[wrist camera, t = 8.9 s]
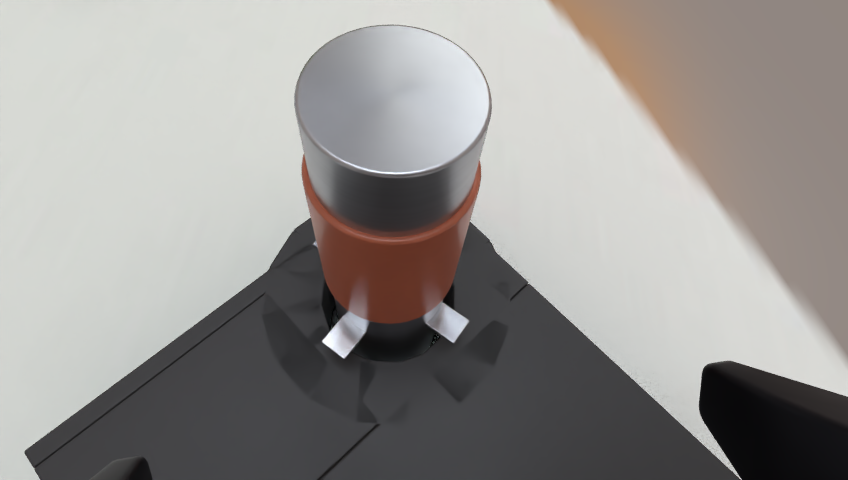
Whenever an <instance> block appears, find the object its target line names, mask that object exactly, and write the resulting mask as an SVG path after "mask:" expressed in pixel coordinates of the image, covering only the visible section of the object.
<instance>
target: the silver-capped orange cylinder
mask: <svg viewBox="0 0 848 480" xmlns="http://www.w3.org/2000/svg"><path fill="white" fill-rule="evenodd" d="M294 105H295V111H296V117H297V122H298V127H299V131H300V136H301V141H302V146H303V150H304V155H303V160H302V180H303V186H304V190H305V194H306V199H307V203H308V207H309V212H310V216H311V220H312V225H313V229H314V234H315V238H316V241H315V242H314V243H313V246H314V248H316V249H317V250H318V251H319V255H320V260H321V264H322V268H323V273H324V277H325V280H326V283H327V285H328V287H329V290H330V292H331V293H332V294H333V296H334V299H335V304H336V309H337V314H338V318H339V321H338V322H337V324H336V325H335V326H334V327H333V328H332V330H331V331H330V332H329V333H328V334H327V335H326V337H325V338H324V339H323V340H322V344H323V345H324V346H325V347H327V348H328V349H329V350H331V351H332V352H333V353H335V354H336V355H337V356H339V357H340V358H341V359H343V360H344V361H345V360H346V359H347V358H348V357H349V355H350V354H351V353H352V352H354V353H356V354H358V355H360V356H363V357H365V358H367V359H369V360H373V361H396V362H400V361H402V360H405V359H408V358H411V357H414V356H416V355H419V354H422V353H424V352H425V351H426V350H427V349H428V348H429V347H430V344H431V342H432V339H433V336H434V332H435V333H436V334H438V335H439V336H440V337H442V338H443V339H445V340H446V341H448V342H449V343H450V344H452V345H454V343H455V342H456V341H457V339H458V338H459V336H460V335H461V334H462V332H463V331H464V329H465V328H466V327H467V325H468V324H469V320H467V319H466V318H465V317H463V316H462V315H460V314H459V313H457V312H456V311H454V310H453V309H452V308H450V307H449V306H447V305H446V304H444V303H443V299H444V297H445V296H446V294H447V293H448V291H449V289H450V287H451V285H452V283H453V279H454V276H455V272H456V269H457V265H458V262H459V258H460V255H461V251H462V248H463V244H464V240H465V237H466V233H467V230H468V226H469V223H470V219H471V216H472V212H473V208H474V205H475V201H476V198H477V194H478V191H479V187H480V181H481V165H480V156H481V152H482V148H483V144H484V140H485V137H486V133H487V129H488V125H489V121H490V117H491V109H492V103H491V94H490V89H489V86H488V83H487V81H486V78H485V76H484V74H483V72H482V70H481V69H480V67H479V66H478V64H477V63H476V62H475V60H474V59H473V58H472V57H471V56H470V55H469V54H468V53H467V52H466V51H464V50H463V49H462V48H461V47H459V46H458V45H457V44H455V43H453V42H452V41H450V40H449V39H447V38H445V37H442V36H440V35H438V34H436V33H433V32H430V31H428V30H424V29H420V28H416V27H410V26H403V25H377V26H369V27H364V28H360V29H356V30H353V31H350V32H347V33H345V34H343V35H340V36H338V37H336V38H334V39H333V40H331V41H329V42H328V43H326V44H325V45H324V46H322V47H321V48H320V49H319V50H318V51H316V52H315V53H314V54H313V55H312V56H311V58H310V59H309V60H308V62H307V63H306V64H305V66H304V68H303V70H302V72H301V73H300V76H299V79H298V81H297V84H296V89H295V95H294Z"/></svg>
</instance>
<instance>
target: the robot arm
mask: <svg viewBox="0 0 848 480" xmlns="http://www.w3.org/2000/svg"><path fill="white" fill-rule="evenodd" d="M699 410H700V414H701V417H702V419H703V421H704V423H705V424H706V426H707V427H708V429H709V430H710V432H711V434H712V435H713V437H714V438H715V440H716V441H717V443H718V444H719V446H720V447H721V449H722V450H723V452H724V453H725V455H726V456H727V458H728V459H729V461H730V462H731V464H732V465H733V467H734V468H735V470H736V472H737V473H738V475H739V476H740V478H741V479H742V480H848V397H846V396H843V395H840V394H836V393H833V392H830V391H827V390H824V389H820V388H817V387H814V386H811V385H807V384H804V383H801V382H798V381H794V380H791V379H788V378H785V377H781V376H778V375H775V374H772V373H768V372H765V371H762V370H759V369H755V368H752V367H749V366H746V365H743V364H739V363H736V362H733V361H723V362H717V363H710V364H708V365H706V366H705V367H704V369H703V372H702V380H701V390H700V400H699ZM90 480H153V478H152V475H151V471H150V468H149V464H148V462H147V460H146V459H145V458H144V457H142V456H136V457H130V458H123V459H117V460H114V461H112V462H111V463H110V464H108V465H107V466H106V467H105V468H103V469H102V470H101V471H100V472H98V473H97V474H96V475H95V476H93V477H92V478H91V479H90Z"/></svg>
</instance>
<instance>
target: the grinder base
mask: <svg viewBox="0 0 848 480" xmlns="http://www.w3.org/2000/svg"><path fill="white" fill-rule="evenodd" d="M315 241H316V238H315V234H314V229H313V225H312V220H311V218H309V219H308V220H307V221H305V222H304V223H303V224H301V225H300V226H298V227H297V228H296V229H295V230H294V231H293V232H292V233H291V235H290V236H289V238H288V239H287V241H286V242H285V244H284V246H283V247H282V249H281V250H280V252H279V253H278V255H277V256H276V258H275V260H274V261H273V263H272V264H271V266H270V269H269V270H268V271H267V272H266V273H265V274H263V275H262V276H261V277H259V278H258V279H256V280H255V281H254V282H252V283H251V284H250V285H248V286H247V287H246V288H244V289H243V290H242V291H240V292H239V293H238V294H236V295H235V296H233V297H232V298H231V299H229V300H228V301H227V302H225V303H224V304H223V305H221V306H220V307H219V308H217V309H216V310H215V311H213V312H212V313H210V314H209V315H208V316H206V317H205V318H204V319H202V320H201V321H200V322H198V323H197V324H196V325H194V326H193V327H192V328H190V329H189V330H187V331H186V332H185V333H183V334H182V335H181V336H179V337H178V338H177V339H175V340H174V341H173V342H171V343H170V344H169V345H167V346H166V347H165V348H163V349H162V350H160V351H159V352H158V353H156V354H155V355H154V356H152V357H151V358H150V359H148V360H147V361H146V362H144V363H143V364H142V365H140V366H139V367H137V368H136V369H135V370H133V371H132V372H131V373H129V374H128V375H127V376H125V377H124V378H123V379H121V380H120V381H119V382H117V383H116V384H114V385H113V386H112V387H110V388H109V389H108V390H106V391H105V392H104V393H102V394H101V395H100V396H98V397H97V398H96V399H94V400H93V401H91V402H90V403H89V404H87V405H86V406H85V407H83V408H82V409H81V410H79V411H78V412H77V413H75V414H74V415H73V416H71V417H70V418H69V419H67V420H66V421H64V422H63V423H62V424H60V425H59V426H58V427H56V428H55V429H54V430H52V431H51V432H50V433H48V434H47V435H46V436H44V437H43V438H41V439H40V440H39V441H37V442H36V443H35V444H33V445H32V446H31V447H29V448H28V449H27V450H25V455H26V456H27V458H28V460H29V461H30V463H31V464H32V466H33V467H34V468H35V471H36V473H37V475H38V476H39V478H40V480H90V479H91V478H92V477H93V476H95V475H96V474H97V473H98V472H100V471H101V470H102V469H103V468H105V467H106V466H107V465H108V464H110V463H111V462H112V461H114V460H117V459H123V458H130V457H136V456H142V457H144V458H145V459H146V460H147V462H148V464H149V468H150V471H151V475H152V478H153V480H740V479H739V478H738V477H737V476H736V475H735V474H734V473H733V472H732V471H731V470H730V469H729V468H728V467H726V466H725V465H724V464H723V463H722V462H721V461H720V460H719V459H718V458H717V457H716V456H715V455H713V454H712V453H711V452H710V451H709V450H708V449H707V448H706V447H705V446H704V445H703V444H702V443H701V442H699V441H698V440H697V439H696V438H695V437H694V436H693V435H692V434H691V433H690V432H689V431H688V430H687V429H685V428H684V427H683V426H682V425H681V424H680V423H679V422H678V421H677V420H676V419H675V418H674V417H672V416H671V415H670V414H669V413H668V412H667V411H666V410H665V409H664V408H663V407H662V406H661V405H660V404H658V403H657V402H656V401H655V400H654V399H653V398H652V397H651V396H650V395H649V394H648V393H647V392H646V391H644V390H643V389H642V388H641V387H640V386H639V385H638V384H637V383H636V382H635V381H634V380H633V379H631V378H630V377H629V376H628V375H627V374H626V373H625V372H624V371H623V370H622V369H621V368H620V367H619V366H617V365H616V364H615V363H614V362H613V361H612V360H611V359H610V358H609V357H608V356H607V355H606V354H605V353H603V352H602V351H601V350H600V349H599V348H598V347H597V346H596V345H595V344H594V343H593V342H592V341H590V340H589V339H588V338H587V337H586V336H585V335H584V334H583V333H582V332H581V331H580V330H579V329H578V328H576V327H575V326H574V325H573V324H572V323H571V322H570V321H569V320H568V319H567V318H566V317H565V316H564V315H562V314H561V313H560V312H559V311H558V310H557V309H556V308H555V307H554V306H553V305H552V304H551V303H549V302H548V301H547V300H546V299H545V298H544V297H543V296H542V295H541V294H540V293H539V292H538V291H537V290H535V289H534V288H533V287H532V286H531V285H530V284H528V282H527V281H526V280H525V279H524V278H523V277H522V276H521V275H520V274H519V273H518V272H517V271H515V270H514V269H513V268H512V267H511V266H510V265H509V264H508V263H507V262H506V261H505V260H504V259H502V258H501V257H500V256H499V255H498V254H497V253H496V252H495V250H494V248H493V246H492V243H491V242H490V240H489V239H488V238H487V237H486V236H485V235H484V234H483V233H482V232H481V231H479V230H478V229H477V228H476V227H475V226H474V225H473V224H472V223H471V222H470V223H469V226H468V230H467V233H466V237H465V240H464V244H463V248H462V251H461V255H460V258H459V262H458V265H457V269H456V272H455V276H454V279H453V283H452V285H451V287H450V289H449V291H448V293H447V294H446V296H445V297H444V299H443V303H444V304H446V305H447V306H449V307H450V308H452V309H453V310H454V311H456V312H457V313H459V314H460V315H462V316H463V317H465V318H466V319H467V320H469V324H468V325H467V327H466V328H465V329H464V331H463V332H462V334H461V335H460V336H459V338H458V339H457V341H456V342H455V343H454V345H452V344H450V343H449V342H448V341H446V340H445V339H443V338H442V337H440V338H439V339H438V340H437V341H436V342H435V343H434V344H433V345H432V346H431V347H430V348H428V349H427V350H426V351H425V352H424V353H422V354H419V355H416V356H414V357H411V358H408V359H405V360H402V361H400V362H396V361H373V360H369V359H367V358H365V357H363V356H360V355H358V354H356V353H354V352H352V353H351V354H350V355H349V357H348V358H347V359H346V360H345V361H344V360H343V359H341V358H340V357H339V356H337V355H336V354H335V353H333V352H332V351H331V350H329V349H328V348H327V347H325V346H324V345H323V344H322V340H323V339H324V338H325V337H326V335H327V334H328V333H329V332H330V326H331V316H332V310H333V308H334V307H335V305H336V304H335V299H334V296H333V294H332V293H331V292H330V290H329V287H328V285H327V283H326V280H325V277H324V273H323V268H322V264H321V260H320V255H319V251H318V250H317V249H316V248H314V246H313V243H314V242H315Z"/></svg>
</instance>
